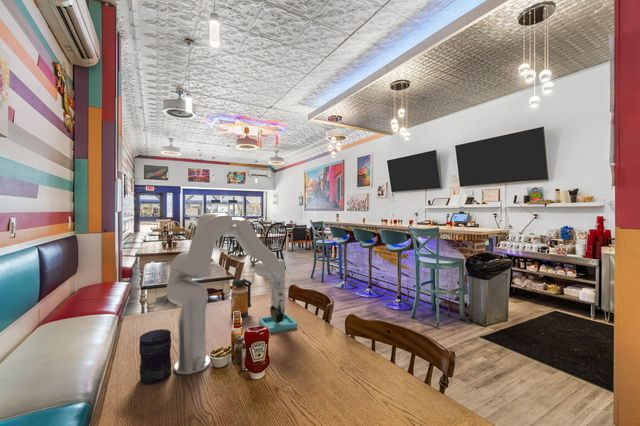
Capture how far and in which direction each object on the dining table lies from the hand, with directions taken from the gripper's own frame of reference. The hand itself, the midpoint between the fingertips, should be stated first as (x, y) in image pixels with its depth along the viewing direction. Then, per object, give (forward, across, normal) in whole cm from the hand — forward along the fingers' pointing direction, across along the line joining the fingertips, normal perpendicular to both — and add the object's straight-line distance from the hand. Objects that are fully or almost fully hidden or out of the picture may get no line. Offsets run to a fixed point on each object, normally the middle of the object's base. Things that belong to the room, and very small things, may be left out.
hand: (277, 318), depth 148 cm
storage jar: (+4, -23, +53) cm, 58 cm away
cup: (+2, 0, 0) cm, 2 cm away
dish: (+4, 0, 0) cm, 4 cm away
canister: (+4, +23, +13) cm, 27 cm away
